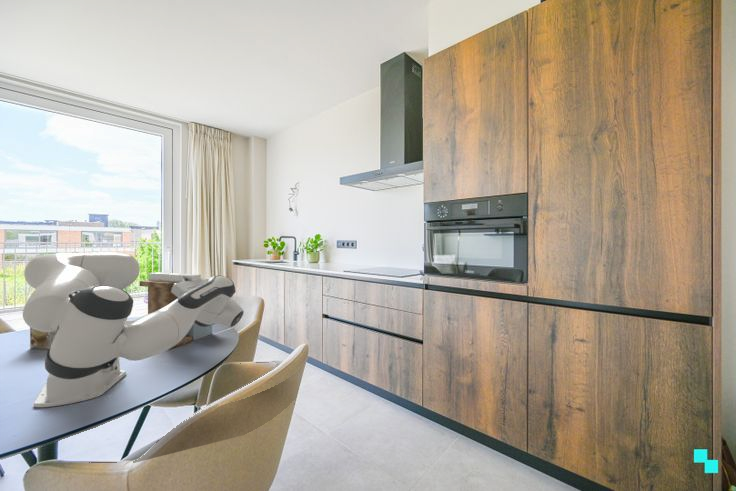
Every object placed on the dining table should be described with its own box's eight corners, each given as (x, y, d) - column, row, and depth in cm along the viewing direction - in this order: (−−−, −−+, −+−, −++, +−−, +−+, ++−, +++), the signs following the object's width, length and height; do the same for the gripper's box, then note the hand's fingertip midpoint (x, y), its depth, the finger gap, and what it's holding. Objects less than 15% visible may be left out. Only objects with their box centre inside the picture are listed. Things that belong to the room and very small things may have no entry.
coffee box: (28, 348, 120) (28, 307, 120) (47, 343, 127) (47, 304, 126) (49, 349, 119) (49, 308, 119) (67, 344, 126) (67, 305, 125)
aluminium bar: (200, 282, 124) (200, 274, 124) (192, 283, 121) (192, 275, 121) (157, 279, 132) (157, 272, 132) (148, 280, 128) (148, 273, 128)
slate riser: (212, 333, 141) (212, 301, 141) (193, 340, 131) (193, 305, 131) (195, 331, 144) (195, 299, 144) (175, 338, 135) (175, 303, 134)
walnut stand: (192, 341, 130) (192, 280, 130) (170, 349, 121) (170, 283, 120) (161, 336, 136) (161, 278, 136) (138, 344, 127) (137, 281, 126)
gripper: (183, 308, 111) (158, 287, 115) (225, 298, 131) (204, 280, 134) (189, 293, 110) (165, 273, 114) (231, 286, 129) (209, 268, 133)
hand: (186, 277), depth 124 cm, fingers closed on aluminium bar, 4 cm apart
